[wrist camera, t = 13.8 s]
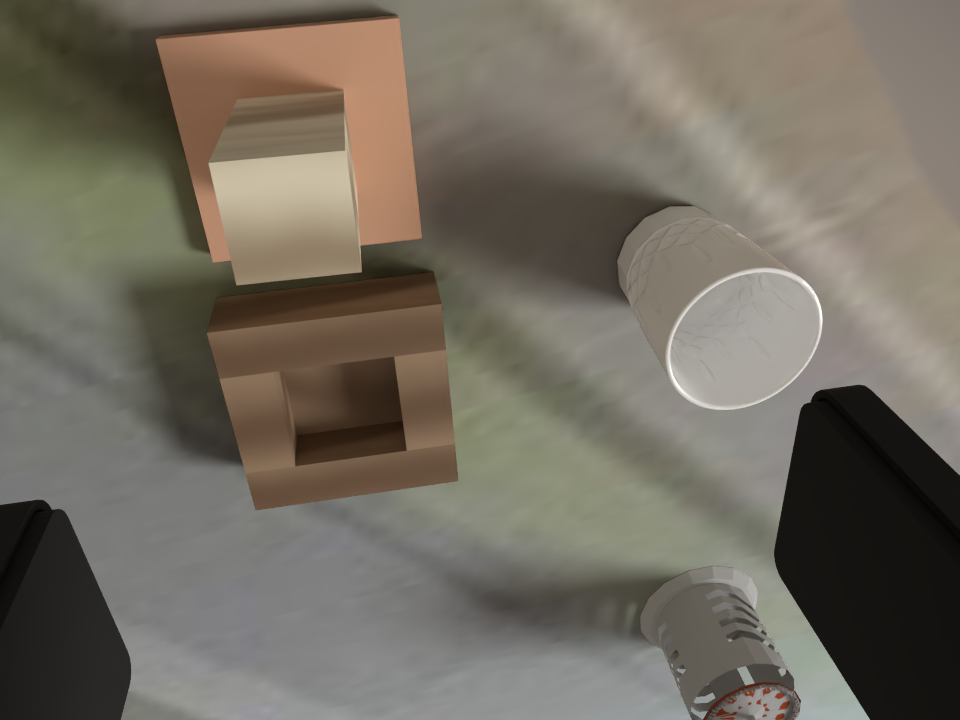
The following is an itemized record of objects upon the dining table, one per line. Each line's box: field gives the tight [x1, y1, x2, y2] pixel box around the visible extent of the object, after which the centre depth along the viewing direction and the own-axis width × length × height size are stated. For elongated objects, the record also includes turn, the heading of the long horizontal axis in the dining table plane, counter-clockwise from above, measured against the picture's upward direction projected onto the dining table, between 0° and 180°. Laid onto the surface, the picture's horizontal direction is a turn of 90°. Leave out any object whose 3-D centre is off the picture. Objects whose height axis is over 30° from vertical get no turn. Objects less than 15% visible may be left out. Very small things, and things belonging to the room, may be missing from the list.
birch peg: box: [208, 90, 362, 285], centre depth 35 cm, size 5×5×10 cm
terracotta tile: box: [156, 15, 422, 262], centre depth 40 cm, size 11×11×1 cm
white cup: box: [617, 206, 822, 410], centre depth 43 cm, size 8×8×10 cm
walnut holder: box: [207, 272, 458, 510], centre depth 46 cm, size 12×12×4 cm
